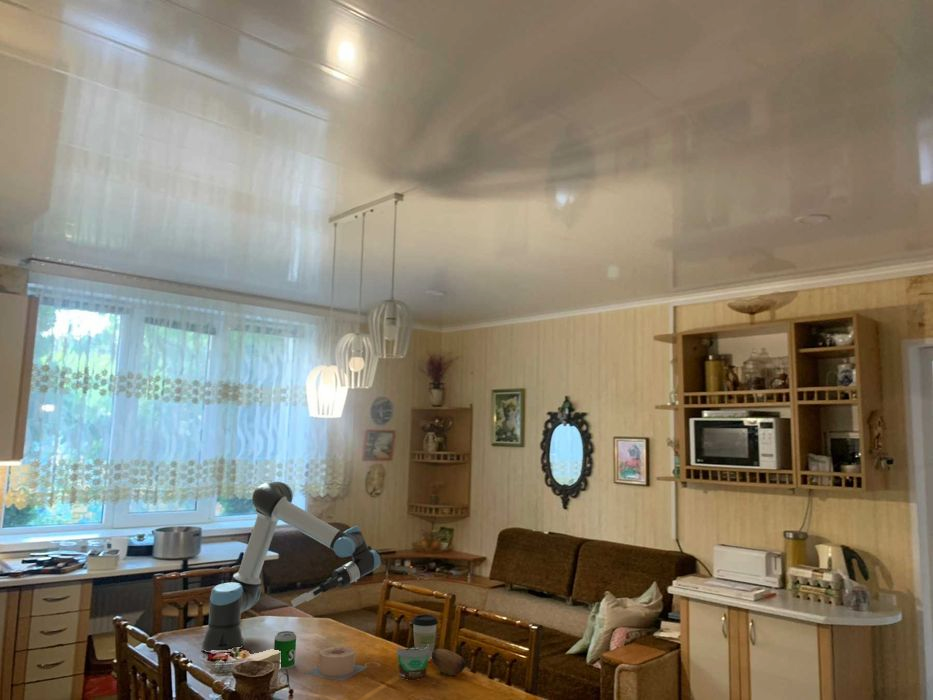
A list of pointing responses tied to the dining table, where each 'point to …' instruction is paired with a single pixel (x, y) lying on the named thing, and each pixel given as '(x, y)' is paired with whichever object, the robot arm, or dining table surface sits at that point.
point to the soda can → (286, 648)
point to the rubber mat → (316, 673)
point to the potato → (448, 661)
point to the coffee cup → (425, 631)
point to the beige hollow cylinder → (336, 661)
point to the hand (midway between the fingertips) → (298, 601)
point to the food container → (413, 662)
